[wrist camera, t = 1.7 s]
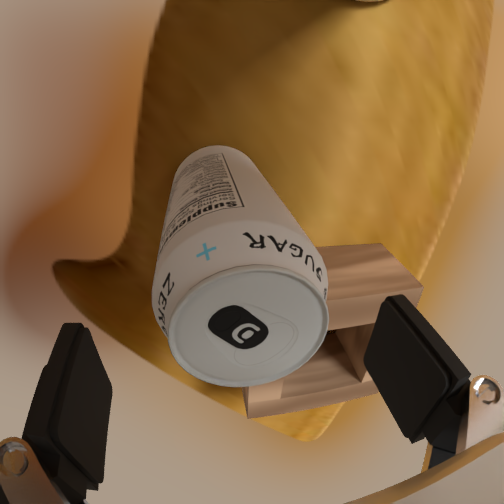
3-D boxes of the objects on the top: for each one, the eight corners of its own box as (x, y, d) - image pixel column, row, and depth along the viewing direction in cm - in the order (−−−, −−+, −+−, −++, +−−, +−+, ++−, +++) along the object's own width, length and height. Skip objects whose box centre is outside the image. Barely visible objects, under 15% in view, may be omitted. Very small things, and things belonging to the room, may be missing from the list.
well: (236, 251, 25) (251, 308, 19) (380, 243, 27) (424, 287, 21) (237, 362, 31) (247, 418, 25) (352, 346, 33) (377, 393, 27)
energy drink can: (215, 238, 24) (245, 413, 11) (156, 186, 21) (107, 343, 8) (274, 184, 23) (377, 323, 10) (217, 125, 20) (261, 197, 7)
